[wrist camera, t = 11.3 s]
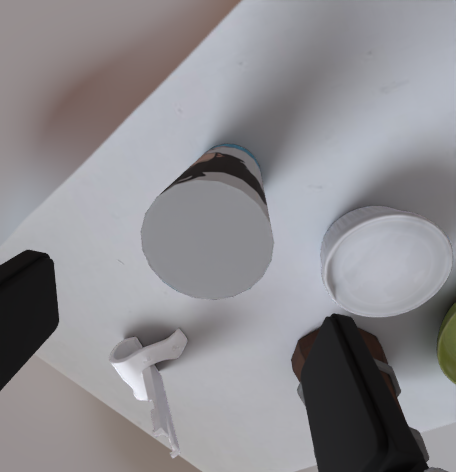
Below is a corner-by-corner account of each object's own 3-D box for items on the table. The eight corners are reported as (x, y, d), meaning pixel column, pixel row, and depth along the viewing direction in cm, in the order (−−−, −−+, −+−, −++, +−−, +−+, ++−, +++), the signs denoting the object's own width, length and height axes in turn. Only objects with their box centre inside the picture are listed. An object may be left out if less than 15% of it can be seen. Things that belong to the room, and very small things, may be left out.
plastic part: (118, 339, 38) (66, 426, 27) (180, 326, 36) (151, 414, 25) (141, 375, 41) (102, 466, 30) (200, 364, 39) (181, 458, 28)
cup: (215, 129, 25) (174, 150, 11) (274, 167, 26) (302, 226, 12) (184, 189, 28) (121, 263, 14) (239, 220, 29) (230, 318, 15)
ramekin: (311, 201, 27) (324, 220, 22) (428, 189, 26) (468, 207, 21) (311, 290, 32) (322, 321, 27) (410, 283, 30) (440, 315, 26)
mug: (274, 354, 37) (289, 495, 23) (348, 308, 33) (420, 448, 19) (341, 409, 41) (387, 557, 27) (415, 375, 37) (513, 529, 23)
